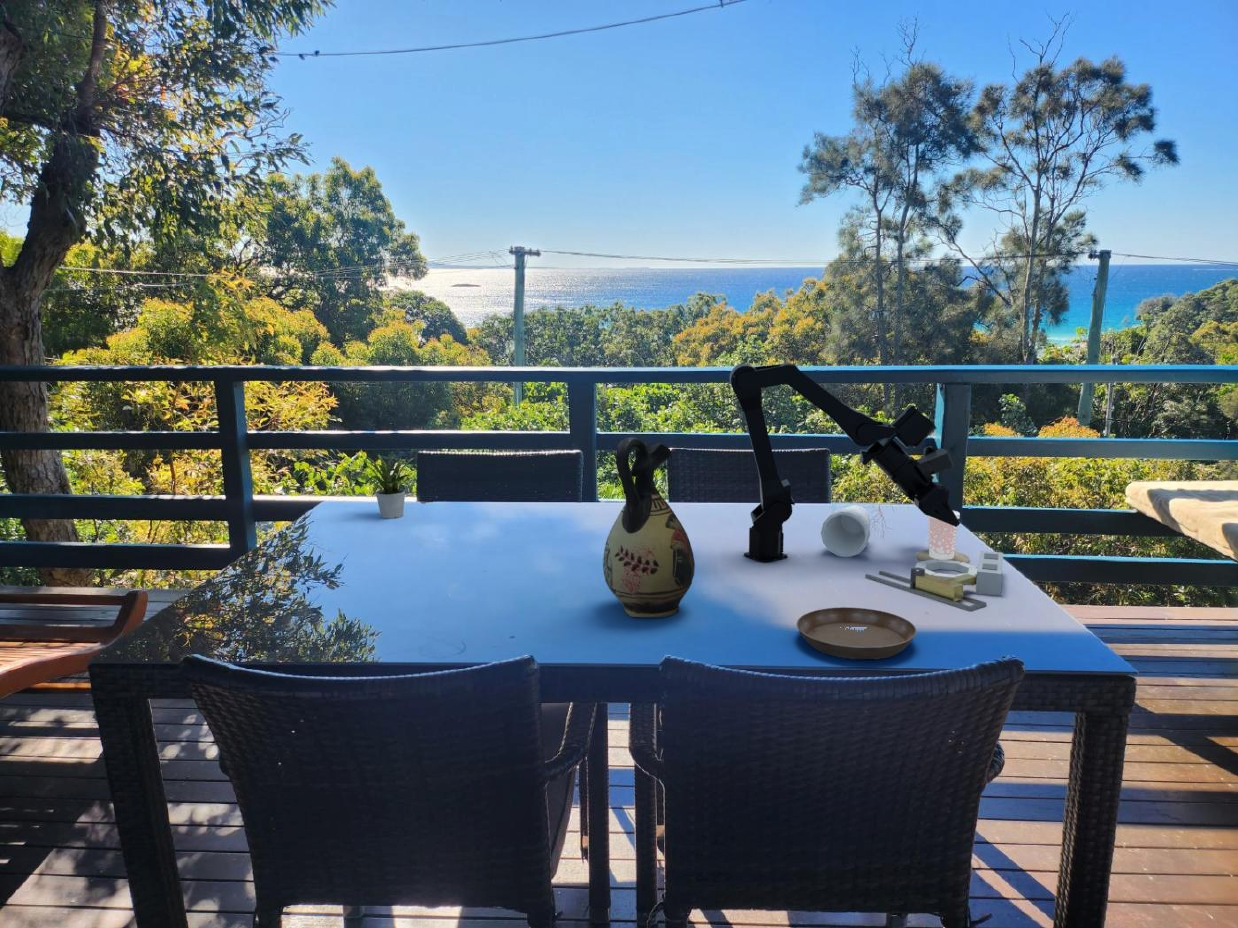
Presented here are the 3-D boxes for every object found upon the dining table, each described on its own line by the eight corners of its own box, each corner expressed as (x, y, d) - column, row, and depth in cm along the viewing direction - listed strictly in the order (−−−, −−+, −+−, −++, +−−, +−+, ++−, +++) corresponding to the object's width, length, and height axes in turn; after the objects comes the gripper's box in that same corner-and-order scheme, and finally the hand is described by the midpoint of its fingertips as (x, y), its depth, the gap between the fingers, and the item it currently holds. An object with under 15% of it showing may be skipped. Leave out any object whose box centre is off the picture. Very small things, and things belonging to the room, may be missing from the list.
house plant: (345, 521, 218) (340, 454, 215) (376, 508, 231) (372, 445, 228) (397, 524, 214) (393, 457, 211) (426, 511, 227) (422, 447, 224)
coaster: (947, 568, 174) (947, 566, 174) (905, 556, 182) (905, 554, 182) (979, 559, 179) (979, 558, 179) (937, 548, 187) (937, 546, 187)
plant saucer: (774, 632, 143) (774, 614, 143) (867, 617, 150) (868, 599, 149) (840, 674, 127) (840, 654, 126) (941, 655, 133) (942, 635, 133)
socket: (910, 586, 164) (911, 564, 163) (918, 564, 177) (919, 543, 176) (1000, 595, 158) (1001, 573, 157) (1001, 572, 171) (1003, 551, 170)
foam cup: (870, 546, 193) (861, 563, 182) (828, 533, 197) (816, 549, 185) (882, 505, 191) (873, 519, 179) (839, 492, 194) (827, 505, 182)
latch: (953, 601, 154) (954, 582, 154) (907, 587, 163) (908, 568, 162) (983, 592, 159) (984, 574, 158) (936, 578, 167) (937, 561, 166)
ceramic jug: (640, 589, 165) (639, 426, 159) (712, 606, 155) (712, 433, 149) (578, 615, 152) (574, 439, 146) (651, 636, 142) (650, 447, 136)
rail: (969, 611, 151) (970, 607, 151) (865, 577, 169) (865, 574, 169) (986, 605, 153) (986, 602, 153) (881, 573, 172) (881, 570, 172)
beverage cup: (944, 562, 176) (948, 492, 174) (918, 555, 181) (921, 487, 179) (964, 557, 180) (968, 488, 177) (938, 550, 185) (941, 483, 182)
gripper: (940, 443, 167) (998, 502, 168) (916, 428, 186) (968, 481, 187) (895, 485, 169) (952, 542, 171) (876, 466, 188) (927, 518, 189)
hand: (951, 519), depth 179 cm, fingers open, 9 cm apart
